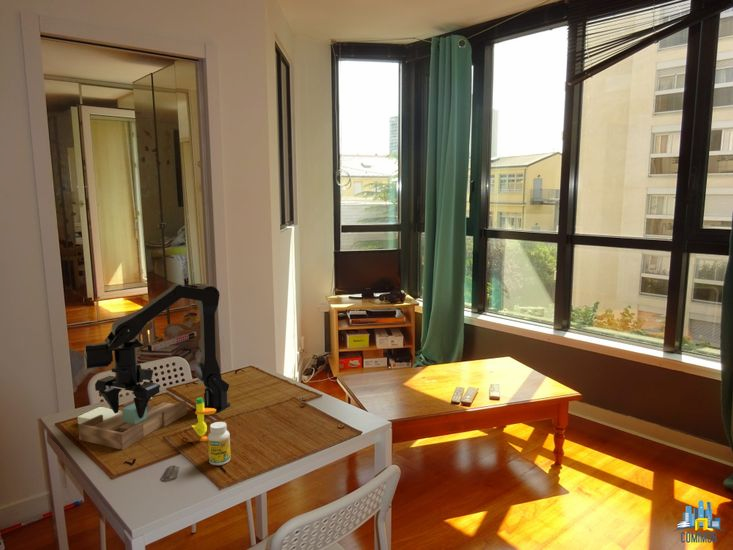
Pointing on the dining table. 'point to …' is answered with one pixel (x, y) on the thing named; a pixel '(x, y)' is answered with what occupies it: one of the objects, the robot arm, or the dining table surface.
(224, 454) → the supplement bottle
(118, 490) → the dining table surface
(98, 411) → the board
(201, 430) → the toy figure
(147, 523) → the dining table surface
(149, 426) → the box
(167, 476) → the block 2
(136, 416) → the block
